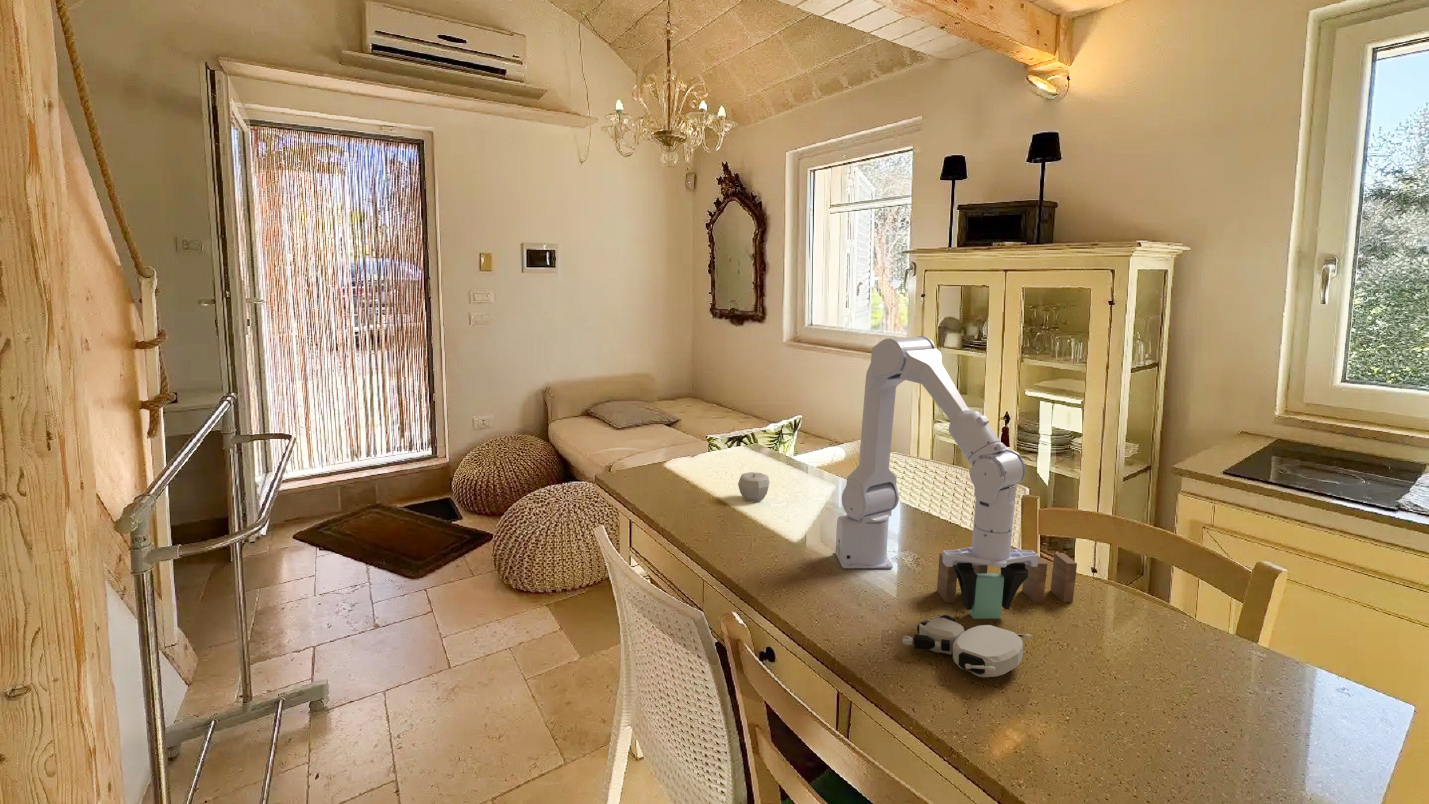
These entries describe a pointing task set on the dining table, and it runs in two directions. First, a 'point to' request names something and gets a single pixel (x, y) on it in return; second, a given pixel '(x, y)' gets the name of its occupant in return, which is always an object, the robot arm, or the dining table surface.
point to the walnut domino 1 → (946, 582)
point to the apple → (753, 486)
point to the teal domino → (987, 596)
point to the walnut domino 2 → (980, 569)
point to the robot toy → (970, 645)
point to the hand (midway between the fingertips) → (985, 606)
